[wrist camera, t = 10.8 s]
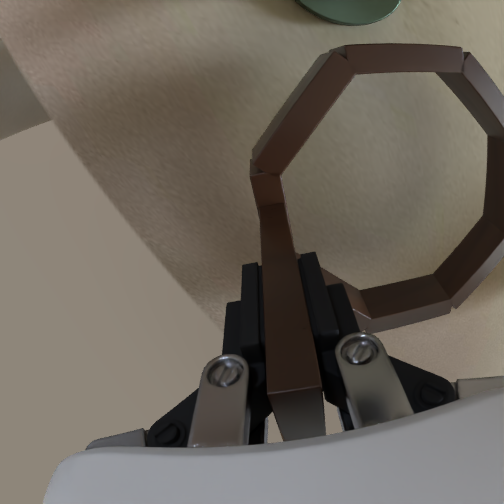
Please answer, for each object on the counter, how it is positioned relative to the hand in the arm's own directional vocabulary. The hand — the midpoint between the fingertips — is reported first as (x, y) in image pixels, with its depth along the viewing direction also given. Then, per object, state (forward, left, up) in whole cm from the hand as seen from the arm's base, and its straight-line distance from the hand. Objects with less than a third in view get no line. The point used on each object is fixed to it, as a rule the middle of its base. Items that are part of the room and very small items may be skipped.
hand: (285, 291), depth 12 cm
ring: (+8, 0, -8) cm, 11 cm away
